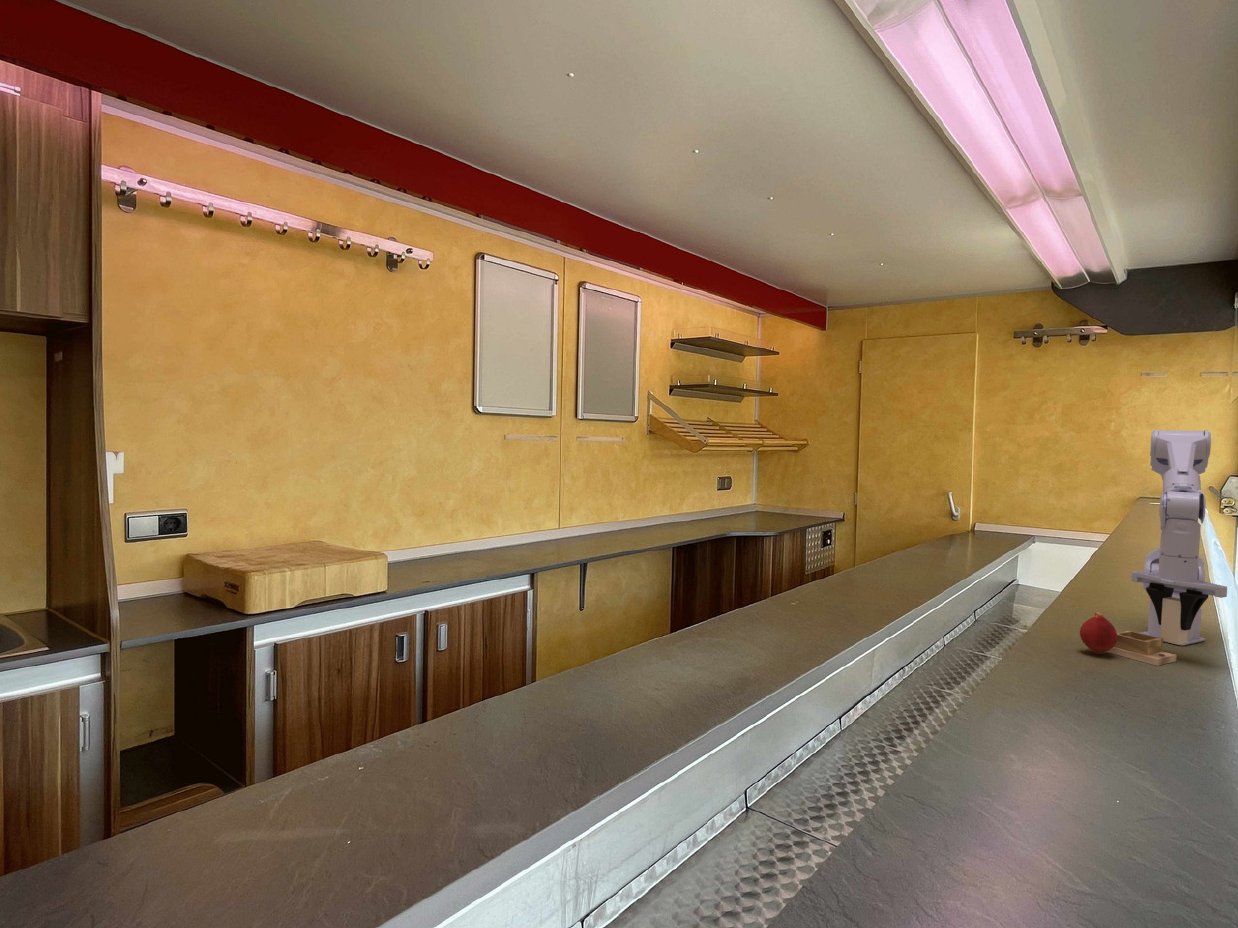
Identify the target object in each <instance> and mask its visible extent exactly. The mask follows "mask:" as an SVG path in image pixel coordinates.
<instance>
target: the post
mask: <svg viewBox="0 0 1238 928" xmlns="http://www.w3.org/2000/svg"><path fill="white" fill-rule="evenodd" d="M1180 622H1181V602H1180V598H1175V597H1167V598H1163V602H1162V618H1161V635H1160V638H1162V639H1163V642H1164V641H1167V642H1166V643H1169V642H1171V643H1170V644H1173V643H1175V644H1174V645H1177V644H1183V643H1187V637H1188V630H1186V631H1185V630H1181V624H1180Z"/></svg>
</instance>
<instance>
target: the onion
mask: <svg viewBox="0 0 1238 928" xmlns="http://www.w3.org/2000/svg"><path fill="white" fill-rule="evenodd" d="M1103 615H1104V614H1102V613H1101V612H1097V611H1096V612H1094V616H1093V617H1090V618H1089V619H1087V620H1085V622H1083V624H1082V625H1081V627H1080V629H1079V637H1080V640H1081V641H1082V643H1083V644H1084V645H1085V647H1087V648H1088V649H1090V650H1091V652H1092V653H1093V654H1095V655H1101V654H1103V653H1107V652H1106V651H1108V650H1110V649H1112V648H1113V647H1114V646H1115V644H1116V643H1117V633H1118V632H1117V630H1116V628H1115V626H1114V625H1113V623H1111V622H1110V621H1109V619H1107V618H1106V617H1105V616H1103Z"/></svg>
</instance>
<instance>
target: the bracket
mask: <svg viewBox="0 0 1238 928" xmlns="http://www.w3.org/2000/svg"><path fill="white" fill-rule="evenodd" d="M1116 633H1117V643H1116V644H1115V646H1114V647H1113V648H1112V649H1110V650H1108V651H1106V652H1105V653H1109V654H1113V655H1117V656H1120V657H1124V658H1128V659H1131V660H1135V661H1137V662H1141V663H1142V662H1143V663H1146V664H1149V665H1154V666H1156V667H1157V666H1162V665H1166V664H1169V663H1170V664H1171V663H1175V662H1177V654H1174V653H1170V652H1166V651H1163V645H1164V641H1163V639H1162V638H1158V637H1154V636H1150V635H1146V634H1142V633H1140V632H1137V631H1132V630H1126V631H1121V632H1116Z"/></svg>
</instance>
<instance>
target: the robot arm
mask: <svg viewBox="0 0 1238 928" xmlns="http://www.w3.org/2000/svg"><path fill="white" fill-rule="evenodd" d="M1150 436H1151V438H1150V451H1149V452H1150V454H1149V455H1150V464H1149V465H1150V466H1151V471H1153V472H1154V473H1157V474H1159V475H1160V476H1161V480H1162V493H1161V494H1160V497H1159V510H1158V511H1159V514H1158V515H1159V520H1160V525H1159V526H1160V529H1159V530H1160V531H1161V532H1160V539H1159V541H1160V545H1159V548H1156V549H1154V550H1151V551H1149V552H1148V553H1147V555H1145V556H1144V563H1143V571H1140V570H1134V571H1131V582H1133V583H1134V582H1135V583H1142V589H1143V590H1145V592H1146V593H1147V595H1148V596H1149V605H1148V618H1147V620H1148V621H1147V631H1140V632H1139V633H1142V634H1146V635H1150V636H1154V637H1158V638H1160V635H1161V618H1162V602H1163V598H1167V597H1175V598H1180V602H1181V622H1180V624H1181V630H1185V631H1186V630H1188V637H1187V643H1183V644H1175V643H1171V642H1167V641H1163V643H1164V642H1165V643H1170V644H1173V645H1178V646H1186V645H1190V644H1196V643H1200V642H1204V641H1206V638H1205V637H1201V626H1202V625H1201V624H1202V606H1203V604H1204V603H1205V602H1206V601H1207V600H1208V598H1209V596H1214V597H1215V598H1220V599H1222V598H1226V597H1228V596H1227V595H1228V586H1227V585H1223V584H1222V585H1220V584H1217V583H1216V584H1215V583H1213V582H1208V581H1206V572H1205V562H1204V561H1203V559H1202V558H1201V557H1200V556H1199V555H1200V545H1201V544H1200V543H1201V542H1200V541H1201V526H1202V525H1201V524H1203V523H1204V521H1205V519H1206V518H1205V516H1206V508H1207V507H1206V505H1207V504H1206V503H1207V502H1206V501H1207V500H1206V496H1205V492H1204V490H1202V487H1201V485H1202V483H1201V475H1202V474H1204V473H1206V469H1207V468H1208V464H1209V458H1210V457H1211V447H1212V433H1211V432H1210V431H1209V430H1207V429H1204V430H1180V429H1179V430H1178V429H1177V430H1171V429H1170V430H1169V429H1167V430H1163V429H1162V430H1161V429H1159V430H1158V429H1153V431H1151V435H1150ZM1199 521H1200V522H1199ZM1200 523H1201V524H1200Z"/></svg>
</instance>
